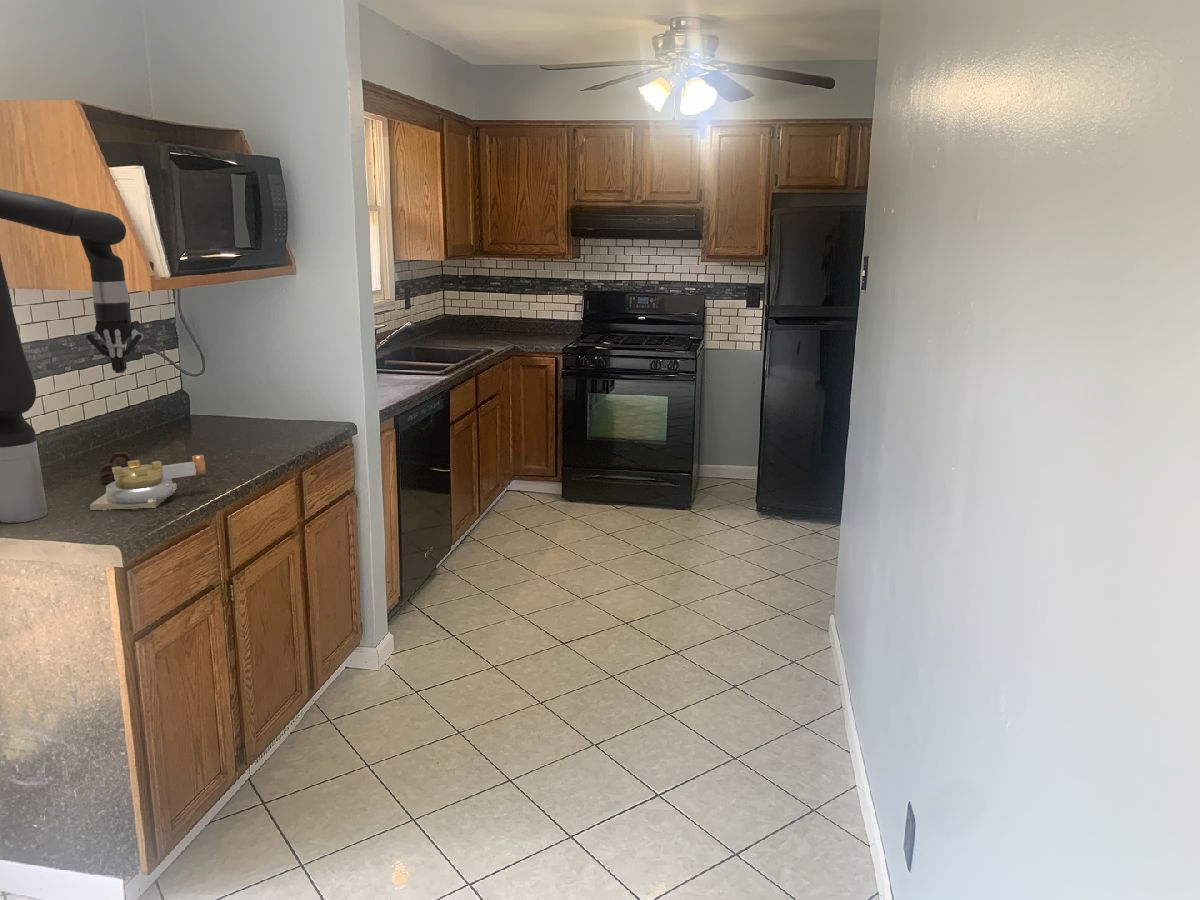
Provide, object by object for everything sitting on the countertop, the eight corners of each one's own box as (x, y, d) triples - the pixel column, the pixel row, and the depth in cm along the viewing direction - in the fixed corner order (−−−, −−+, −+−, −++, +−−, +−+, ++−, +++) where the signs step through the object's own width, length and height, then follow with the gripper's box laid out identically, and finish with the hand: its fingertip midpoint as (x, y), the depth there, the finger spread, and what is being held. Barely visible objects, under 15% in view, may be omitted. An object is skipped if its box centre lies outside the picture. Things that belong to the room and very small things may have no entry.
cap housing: (89, 512, 205) (86, 493, 204) (117, 490, 221) (115, 473, 220) (162, 509, 207) (160, 491, 206) (185, 488, 223) (183, 471, 222)
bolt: (104, 492, 227) (121, 474, 241) (122, 481, 227) (137, 464, 241) (89, 473, 225) (106, 457, 239) (107, 463, 225) (123, 447, 239)
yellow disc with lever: (119, 491, 205) (116, 472, 204) (111, 480, 213) (108, 463, 212) (210, 477, 216) (208, 459, 215) (200, 468, 224) (198, 451, 223)
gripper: (74, 301, 209) (84, 375, 213) (134, 301, 211) (143, 374, 215) (88, 299, 216) (97, 370, 220) (146, 299, 218) (154, 369, 222)
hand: (120, 372), depth 218 cm, fingers closed
